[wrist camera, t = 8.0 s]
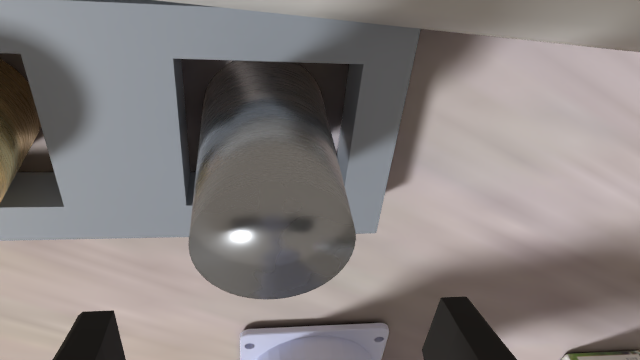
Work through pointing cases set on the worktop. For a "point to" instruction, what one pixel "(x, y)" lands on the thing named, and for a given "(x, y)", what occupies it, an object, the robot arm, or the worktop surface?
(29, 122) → the seated bushing
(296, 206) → the cylinder
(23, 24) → the jig
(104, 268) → the worktop surface
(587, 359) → the syrup box
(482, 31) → the tube
